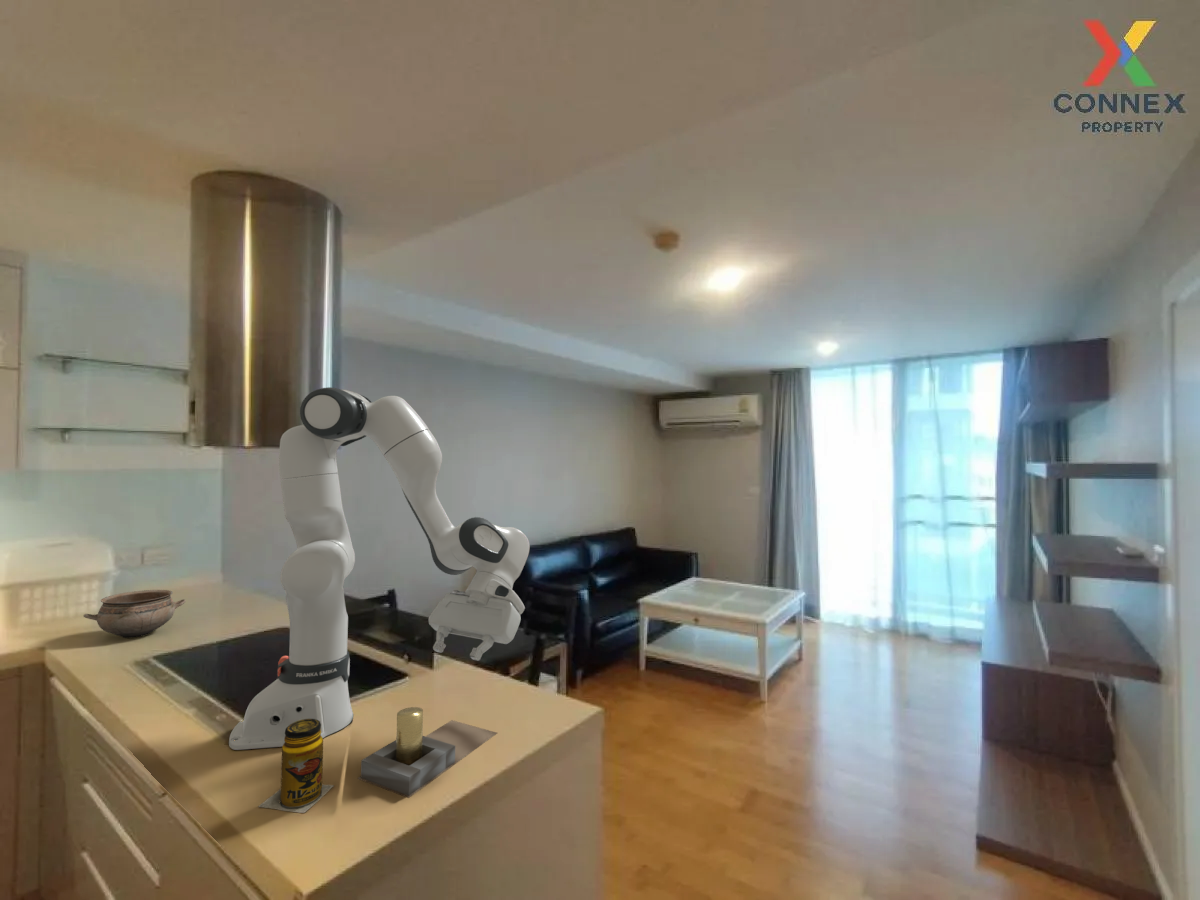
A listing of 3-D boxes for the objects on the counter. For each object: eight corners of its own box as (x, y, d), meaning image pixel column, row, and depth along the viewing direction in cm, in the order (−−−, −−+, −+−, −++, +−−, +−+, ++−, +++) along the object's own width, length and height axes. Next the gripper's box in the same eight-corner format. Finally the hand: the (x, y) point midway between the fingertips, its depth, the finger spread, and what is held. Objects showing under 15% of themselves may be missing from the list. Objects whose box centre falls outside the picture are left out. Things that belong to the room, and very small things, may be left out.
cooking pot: (177, 620, 187) (178, 585, 187) (192, 631, 175) (193, 594, 175) (77, 637, 168) (79, 598, 168) (87, 651, 155) (88, 609, 156)
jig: (408, 803, 88) (409, 779, 88) (357, 784, 93) (357, 760, 93) (497, 737, 109) (498, 717, 109) (451, 724, 114) (452, 705, 115)
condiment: (304, 813, 85) (307, 737, 85) (257, 807, 86) (259, 732, 87) (334, 786, 92) (336, 716, 92) (290, 781, 93) (292, 711, 94)
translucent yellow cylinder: (396, 778, 93) (397, 719, 93) (395, 765, 97) (396, 709, 97) (422, 773, 94) (423, 715, 95) (421, 760, 99) (422, 705, 99)
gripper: (442, 581, 118) (408, 638, 109) (520, 592, 109) (489, 655, 100) (456, 597, 122) (423, 653, 113) (531, 608, 113) (503, 671, 104)
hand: (455, 654), depth 107 cm, fingers open, 8 cm apart
